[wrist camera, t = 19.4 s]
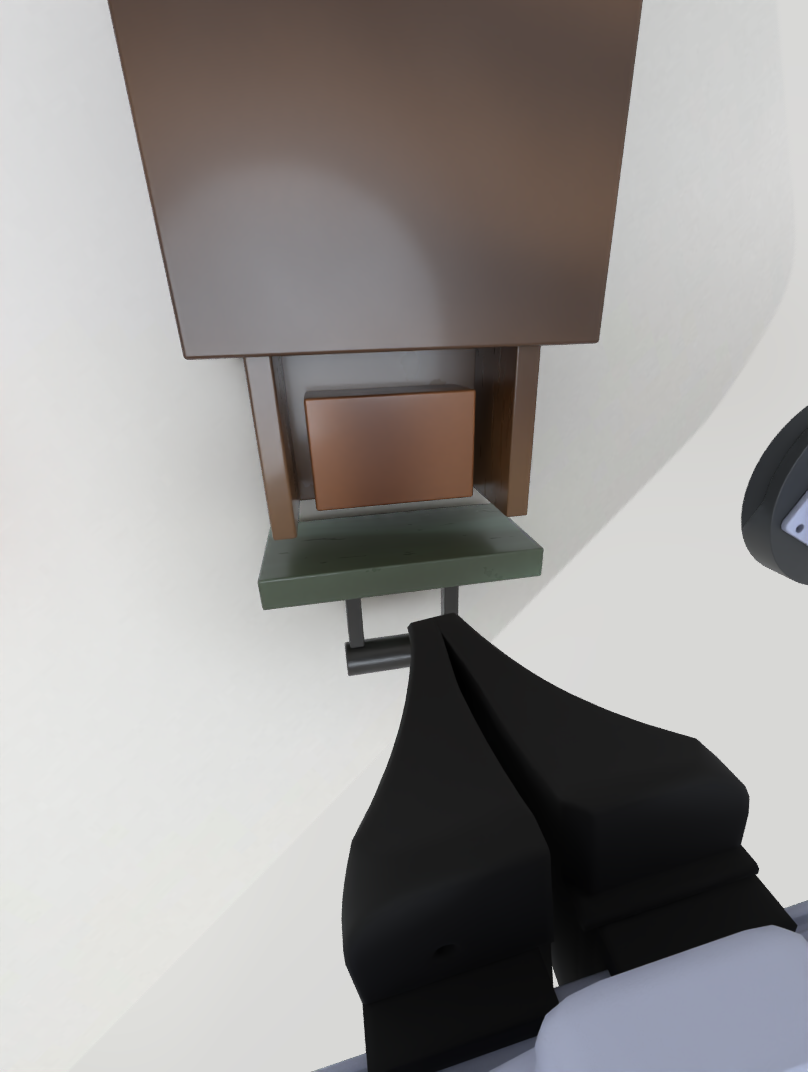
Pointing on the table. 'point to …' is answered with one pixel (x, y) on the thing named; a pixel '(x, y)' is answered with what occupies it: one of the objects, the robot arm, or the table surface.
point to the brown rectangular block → (390, 444)
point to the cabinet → (380, 168)
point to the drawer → (404, 537)
